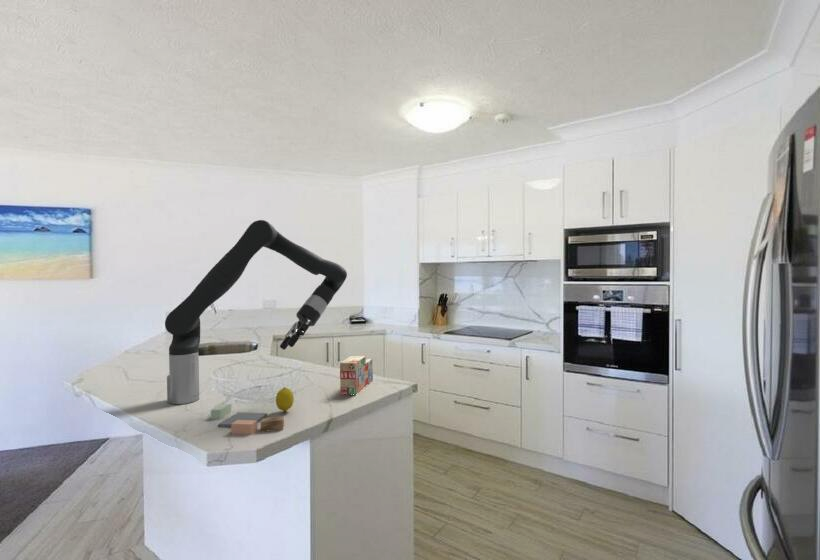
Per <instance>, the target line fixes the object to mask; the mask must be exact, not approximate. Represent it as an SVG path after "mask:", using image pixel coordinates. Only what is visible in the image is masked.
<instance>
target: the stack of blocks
mask: <svg viewBox="0 0 820 560" xmlns="http://www.w3.org/2000/svg"><path fill="white" fill-rule="evenodd" d="M373 369H374V368H373V358H366V356H365V355H351V356H349V357H347V358H345V359H344V360H342V361H340V362H339V379H340V381H339V382H340V389H339V390H340V393H339V395H341V394H352V395H351V396H357V395H358V394H360V393H361V392H362V391H363V390H364V389H365V388H366V387H367V386H368V385H370V382H371V381H372V380H374V376H373V375H374V374H373V373H374V371H373ZM372 382H373V381H372ZM372 382H371V383H372ZM367 384H368V385H367ZM366 385H367V386H366ZM365 386H366V387H365ZM364 387H365V388H364ZM363 388H364V389H363ZM362 389H363V390H362ZM361 390H362V391H361ZM360 391H361V392H360ZM359 392H360V393H359ZM357 393H358V394H357ZM353 394H354V395H353ZM356 394H357V395H356Z"/></svg>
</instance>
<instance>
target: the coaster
mask: <svg viewBox="0 0 820 560" xmlns="http://www.w3.org/2000/svg"><path fill="white" fill-rule="evenodd" d="M267 416H268V413H267V412H245V411H243V412H241V411H239V412H236V413H234V414H233V415H231V416H228V417H227V418H226V419H225V420H222V421H221V422H219V423H218V427H223V428H231V424H232V423H233V422H235V421H236V420H256V421H257V424H258V423H259V422H261V420H262V418H267Z"/></svg>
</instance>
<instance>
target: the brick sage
mask: <svg viewBox="0 0 820 560" xmlns="http://www.w3.org/2000/svg"><path fill="white" fill-rule="evenodd" d="M231 413H232V403H221V404H219V405H218V406H215V407H213V408H212V409H211V410H210V415H211V417H210V418H211V420H222V419H223V418H225V417H226V416H228V415H230V414H231Z"/></svg>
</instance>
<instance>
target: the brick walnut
mask: <svg viewBox="0 0 820 560" xmlns="http://www.w3.org/2000/svg"><path fill="white" fill-rule="evenodd" d="M283 427H284V428H285V416H273V417H265V418H262V420H261V421H260V432H261V431H265V432H268V431H267V430H276V431H280V430H279V429H283V430H284V428H283Z"/></svg>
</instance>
